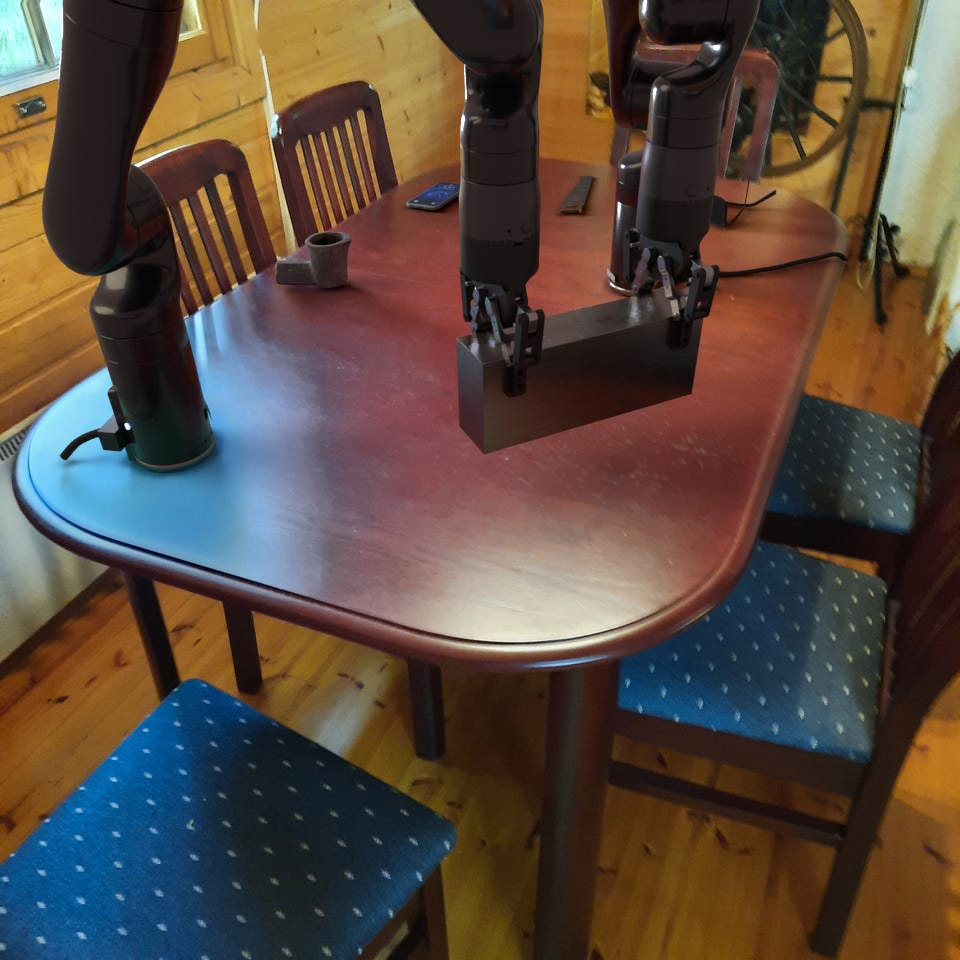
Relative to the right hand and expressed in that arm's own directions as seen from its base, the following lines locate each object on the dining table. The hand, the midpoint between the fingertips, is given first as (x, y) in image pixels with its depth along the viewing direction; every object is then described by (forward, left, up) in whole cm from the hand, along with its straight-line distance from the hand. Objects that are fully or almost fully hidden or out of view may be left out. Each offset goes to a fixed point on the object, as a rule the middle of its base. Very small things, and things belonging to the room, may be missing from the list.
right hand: (659, 335), depth 96 cm
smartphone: (-12, -91, -13) cm, 93 cm away
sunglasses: (-58, -56, -13) cm, 82 cm away
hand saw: (-38, -78, -13) cm, 88 cm away
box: (+10, 0, -7) cm, 12 cm away
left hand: (+20, 0, 0) cm, 20 cm away
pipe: (+23, -61, -13) cm, 67 cm away
